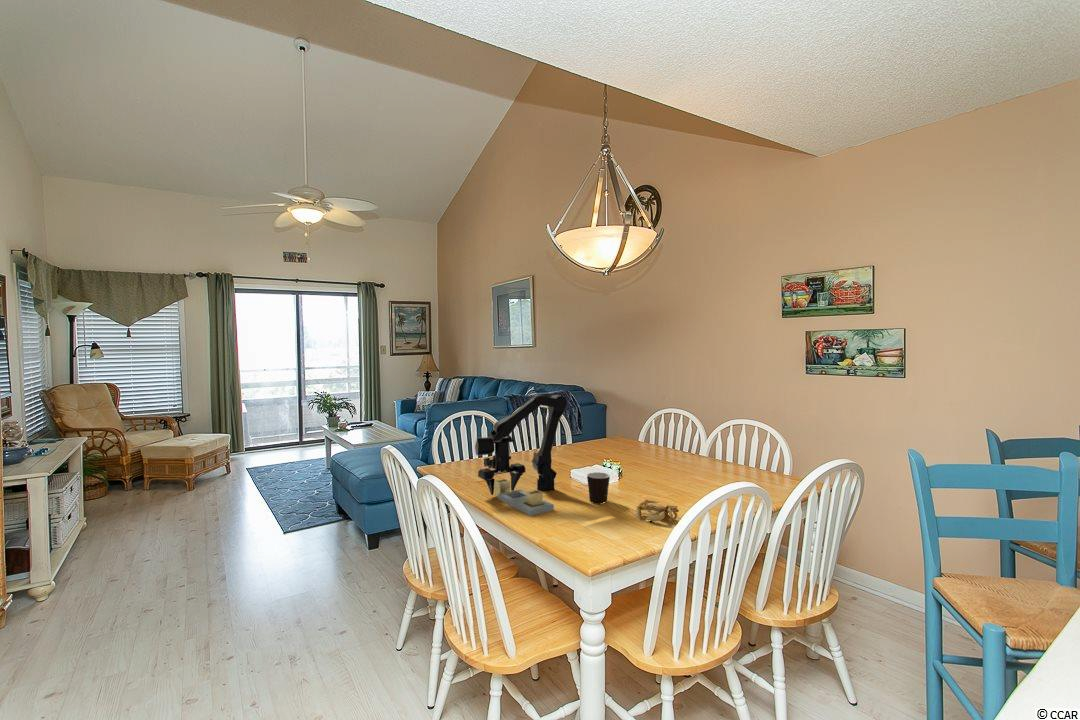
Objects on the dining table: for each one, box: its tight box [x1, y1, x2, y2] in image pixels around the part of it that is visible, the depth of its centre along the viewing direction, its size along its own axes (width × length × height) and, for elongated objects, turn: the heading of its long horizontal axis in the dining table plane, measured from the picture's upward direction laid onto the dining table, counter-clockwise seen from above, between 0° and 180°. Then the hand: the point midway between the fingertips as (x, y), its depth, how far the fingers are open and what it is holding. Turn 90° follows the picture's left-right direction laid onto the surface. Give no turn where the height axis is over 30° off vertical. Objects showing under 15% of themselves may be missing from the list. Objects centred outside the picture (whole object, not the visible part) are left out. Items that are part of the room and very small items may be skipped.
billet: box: [494, 478, 511, 498], centre depth 199 cm, size 4×4×6 cm
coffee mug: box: [586, 471, 611, 504], centre depth 190 cm, size 12×9×10 cm
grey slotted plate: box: [497, 489, 555, 517], centre depth 185 cm, size 22×10×3 cm, turn 35°
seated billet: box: [525, 489, 544, 507], centre depth 180 cm, size 4×4×6 cm
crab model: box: [635, 498, 680, 522], centre depth 174 cm, size 16×13×6 cm
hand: (502, 492), depth 199 cm, fingers open, 9 cm apart
